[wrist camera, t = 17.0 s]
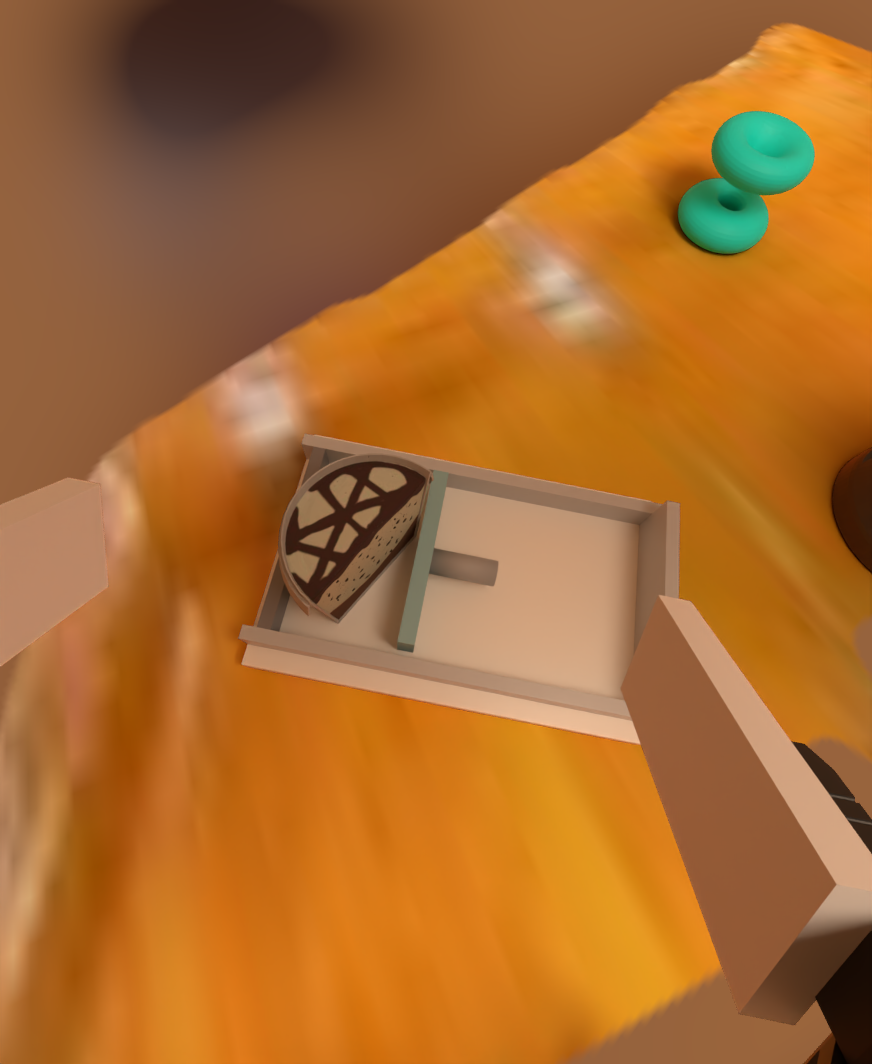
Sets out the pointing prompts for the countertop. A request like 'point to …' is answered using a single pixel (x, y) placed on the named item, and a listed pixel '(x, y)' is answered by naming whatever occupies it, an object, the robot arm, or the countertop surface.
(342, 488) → the food container
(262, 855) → the countertop surface
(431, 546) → the pusher paddle
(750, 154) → the donuts
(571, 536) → the pusher lane
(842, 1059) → the robot arm
